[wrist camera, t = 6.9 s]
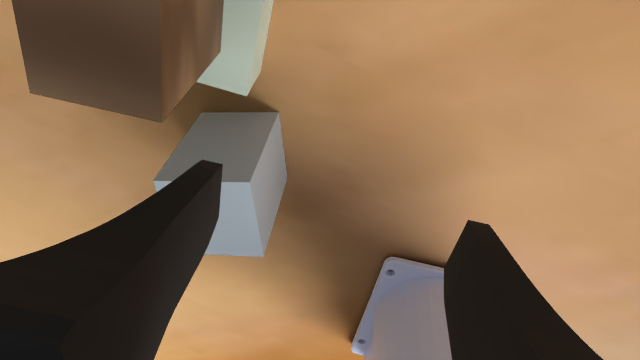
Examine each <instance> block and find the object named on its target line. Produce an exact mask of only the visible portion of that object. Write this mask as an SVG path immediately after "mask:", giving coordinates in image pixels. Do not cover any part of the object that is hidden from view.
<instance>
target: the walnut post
mask: <svg viewBox="0 0 640 360" xmlns="http://www.w3.org/2000/svg"><path fill="white" fill-rule="evenodd" d="M12 4H13V9H14V14H15V19H16V24H17V29H18V34H19V39H20V44H21V49H22V55H23V60H24V65H25V70H26V75H27V80H28V85H29V90H30V93H32V94H37V95H41V96H45V97H50V98H54V99H59V100H63V101H68V102H72V103H76V104H81V105H85V106H90V107H94V108H99V109H103V110H107V111H112V112H116V113H121V114H125V115H130V116H134V117H138V118H143V119H147V120H152V121H156V122H161V123H162V122H163V121H164V120H165V119H166V117H167V116H168V115H169V114H170V112H171V111H172V110H173V109H174V108H175V106H176V105H177V104H178V103H179V102H180V100H181V99H182V98H183V97H184V96H185V94H186V93H187V92H188V91H189V89H190V88H191V87H192V86H193V85H194V83H195V82H196V81H197V80H198V79H199V77H200V76H201V75H202V74H203V73H204V71H205V70H206V69H207V68H208V67H209V65H210V64H211V63H212V62H213V60H214V59H215V58H216V57H217V56H218V54H219V53H220V52H221V37H222V22H223V6H224V0H12Z"/></svg>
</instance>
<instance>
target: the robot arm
mask: <svg viewBox="0 0 640 360" xmlns="http://www.w3.org/2000/svg"><path fill="white" fill-rule="evenodd" d="M222 170H223V164H220V163H215V162H211V161H207V160H201V161H199V162H197V163H196V164H195V165H193V166H192V167H191V168H189V169H188V170H187V171H185V172H184V173H183V174H181V175H180V176H179V177H177V178H176V179H175V180H173V181H172V182H171V183H169V184H168V185H166V186H165V187H164V188H162V189H161V190H159V191H158V192H156V193H155V194H153V195H152V196H150V197H149V198H147V199H146V200H144V201H143V202H141V203H139V204H138V205H136V206H134V207H133V208H131V209H130V210H128V211H126V212H125V213H123V214H121V215H119V216H118V217H116V218H114V219H112V220H110V221H108V222H106V223H104V224H102V225H100V226H98V227H96V228H94V229H92V230H90V231H87V232H85V233H83V234H80V235H78V236H75V237H73V238H71V239H68V240H66V241H63V242H61V243H59V244H56V245H53V246H51V247H48V248H45V249H42V250H39V251H36V252H33V253H30V254H27V255H24V256H21V257H18V258H14V259H11V260H8V261H4V262H0V360H154V358H155V355H156V353H157V350H158V348H159V345H160V343H161V340H162V338H163V335H164V333H165V330H166V328H167V325H168V323H169V321H170V319H171V317H172V314H173V312H174V310H175V308H176V306H177V304H178V302H179V301H180V299H181V297H182V295H183V293H184V291H185V289H186V287H187V286H188V284H189V282H190V280H191V278H192V276H193V274H194V272H195V271H196V269H197V267H198V265H199V263H200V261H201V259H202V257H203V255H204V253H205V251H206V250H207V248H208V245H209V243H210V240H211V237H212V235H213V232H214V229H215V227H216V224H217V221H218V218H219V209H220V196H221V183H222ZM388 270H393V271H388ZM351 350H352V352H354V353H356V354H360V355H364V356H365V357H364V360H603V359H602V358H601V357H600V356H599V355H598V354H596V353H595V352H594V351H593V350H592V349H591V348H590V347H589V346H588V345H587V344H586V343H585V342H584V341H583V340H582V339H581V338H580V337H579V336H578V335H577V334H576V333H575V332H574V331H573V330H572V329H571V328H570V327H569V326H568V325H567V324H566V323H565V321H564V320H563V319H562V318H561V317H560V316H559V315H558V314H557V313H556V311H555V310H554V309H553V308H552V307H551V306H550V304H549V303H548V302H547V301H546V300H545V298H544V297H543V296H542V295H541V294H540V292H539V291H538V290H537V289H536V287H535V286H534V285H533V284H532V282H531V281H530V280H529V278H528V277H527V276H526V274H525V273H524V272H523V270H522V269H521V268H520V266H519V265H518V264H517V262H516V261H515V260H514V258H513V257H512V255H511V254H510V253H509V251H508V250H507V248H506V247H505V246H504V244H503V243H502V241H501V240H500V239H499V237H498V236H497V235H496V233H495V232H494V230H493V229H492V228H491V227H490V225H488V224H484V223H479V222H475V221H470V220H468V222H467V224H466V226H465V228H464V229H463V231H462V233H461V235H460V237H459V239H458V241H457V243H456V245H455V247H454V249H453V251H452V253H451V255H450V257H449V259H448V261H447V263H446V265H445V267H444V268H441V267H437V266H432V265H428V264H424V263H419V262H415V261H411V260H406V259H402V258H398V257H388V258H387V259H386V260H385V261H384V264H383V266H382V269H381V271H380V274H379V276H378V279H377V281H376V284H375V286H374V289H373V291H372V294H371V296H370V299H369V301H368V304H367V306H366V309H365V311H364V314H363V316H362V319H361V321H360V324H359V326H358V329H357V331H356V334H355V336H354V339H353V341H352V344H351Z"/></svg>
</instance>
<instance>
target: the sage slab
mask: <svg viewBox="0 0 640 360" xmlns="http://www.w3.org/2000/svg"><path fill="white" fill-rule="evenodd" d="M273 2H274V0H224V6H223V22H222V37H221V52H220V53H219V54H218V56H217V57H216V58H215V59H214V60H213V62H212V63H211V64H210V65H209V67H208V68H207V69H206V70H205V71H204V73H203V74H202V75H201V76H200V77H199V79H198V80H197V81H196V82H198V83H202V84H205V85H209V86H212V87H216V88H219V89H223V90H226V91H230V92H233V93H237V94H240V95H244V96H247V95H248V93H249V91H250V90H251V88H252V86H253V84H254V83H255V81H256V79H257V78H258V76H259V74H260V72H261V67H262V61H263V56H264V50H265V45H266V40H267V34H268V29H269V23H270V18H271V12H272V7H273Z"/></svg>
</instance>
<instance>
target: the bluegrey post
mask: <svg viewBox="0 0 640 360" xmlns="http://www.w3.org/2000/svg"><path fill="white" fill-rule="evenodd" d="M201 160H207V161H211V162H215V163H220V164H223V170H222V183H221V196H220V209H219V218H218V221H217V224H216V227H215V229H214V232H213V235H212V237H211V240H210V243H209V245H208V248H207V250H206V251H205V253H204V255H229V256H256V257H264V254H265V251H266V248H267V244H268V241H269V238H270V234H271V231H272V228H273V225H274V221H275V218H276V215H277V212H278V208H279V205H280V202H281V198H282V195H283V192H284V189H285V185H286V182H287V179H288V178H287V170H286V162H285V155H284V147H283V140H282V132H281V124H280V117H279V112H201V114H200V115H199V116H198V118H197V119H196V121H195V122H194V123H193V125H192V126H191V128H190V129H189V131H188V132H187V133H186V135H185V136H184V138H183V139H182V140H181V142H180V143H179V145H178V146H177V148H176V149H175V150H174V152H173V153H172V155H171V156H170V157H169V159H168V160H167V162H166V163H165V165H164V166H163V167H162V169H161V170H160V172H159V173H158V174H157V176H156V177H155V179H154V180H153V183H154V186H155V189H156V192H158V191H159V190H161V189H162V188H164V187H165V186H166V185H168V184H169V183H171V182H172V181H173V180H175V179H176V178H177V177H179V176H180V175H181V174H183V173H184V172H185V171H187V170H188V169H189V168H191V167H192V166H193V165H195V164H196V163H197V162H199V161H201Z"/></svg>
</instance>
